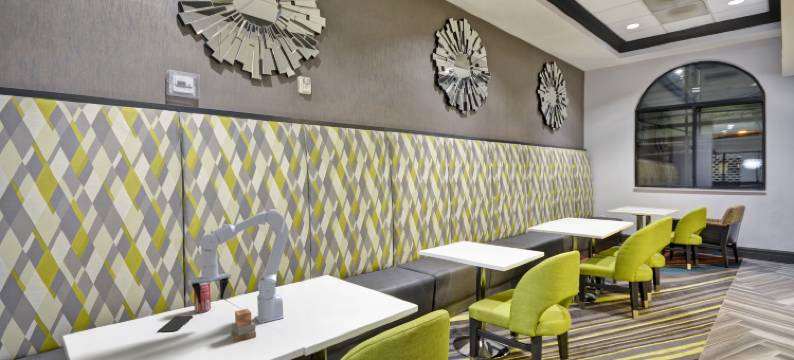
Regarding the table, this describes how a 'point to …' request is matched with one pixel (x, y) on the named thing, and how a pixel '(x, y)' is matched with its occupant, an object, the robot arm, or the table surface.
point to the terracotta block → (243, 318)
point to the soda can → (203, 298)
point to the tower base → (243, 336)
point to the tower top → (243, 329)
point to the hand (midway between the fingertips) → (210, 300)
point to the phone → (175, 324)
